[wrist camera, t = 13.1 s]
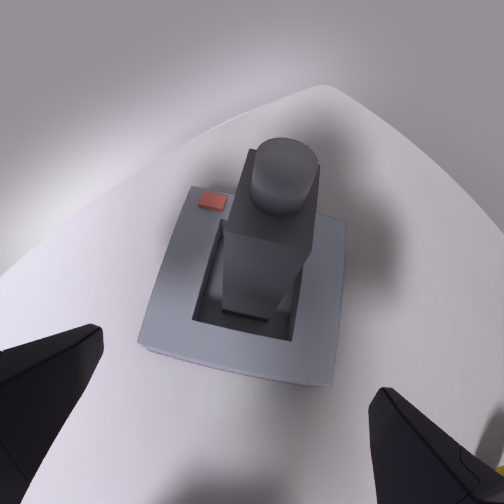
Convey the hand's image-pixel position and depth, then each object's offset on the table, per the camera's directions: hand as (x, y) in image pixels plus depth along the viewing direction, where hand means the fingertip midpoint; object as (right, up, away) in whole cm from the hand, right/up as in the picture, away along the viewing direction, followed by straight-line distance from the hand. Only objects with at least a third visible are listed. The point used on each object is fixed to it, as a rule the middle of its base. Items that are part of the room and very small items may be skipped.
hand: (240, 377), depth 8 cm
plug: (0, +1, +13) cm, 13 cm away
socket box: (0, +1, +14) cm, 14 cm away
